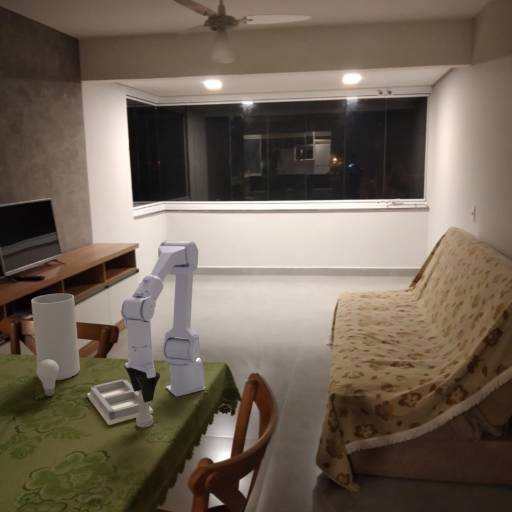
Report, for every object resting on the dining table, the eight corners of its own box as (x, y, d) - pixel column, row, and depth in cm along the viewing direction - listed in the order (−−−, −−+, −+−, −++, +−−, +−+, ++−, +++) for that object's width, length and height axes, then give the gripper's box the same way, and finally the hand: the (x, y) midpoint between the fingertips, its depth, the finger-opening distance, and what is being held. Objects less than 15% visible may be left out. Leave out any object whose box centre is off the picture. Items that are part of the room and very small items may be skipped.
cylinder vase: (72, 381, 164) (65, 303, 160) (32, 382, 164) (24, 303, 160) (85, 366, 176) (79, 293, 172) (48, 366, 177) (41, 293, 172)
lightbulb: (53, 401, 150) (50, 364, 148) (34, 399, 152) (30, 363, 150) (65, 392, 156) (62, 356, 154) (46, 391, 157) (43, 355, 156)
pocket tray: (128, 386, 159) (127, 377, 159) (153, 412, 142) (152, 402, 141) (87, 396, 153) (86, 386, 152) (108, 425, 136) (107, 414, 135)
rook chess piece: (137, 420, 138) (135, 391, 137) (154, 419, 138) (152, 390, 137) (134, 428, 133) (132, 399, 132) (152, 427, 134) (151, 398, 132)
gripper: (115, 339, 136) (118, 389, 138) (134, 355, 124) (137, 410, 126) (141, 334, 140) (144, 383, 142) (162, 349, 128) (165, 402, 130)
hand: (143, 395), depth 134 cm, fingers open, 7 cm apart
